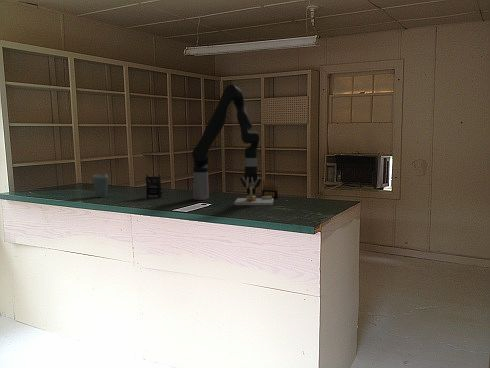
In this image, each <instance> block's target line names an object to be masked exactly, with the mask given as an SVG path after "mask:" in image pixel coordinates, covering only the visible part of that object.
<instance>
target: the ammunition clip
mask: <svg viewBox="0 0 490 368" xmlns="http://www.w3.org/2000/svg"><path fill="white" fill-rule="evenodd" d="M278 188H279V187H278V180H277V179H273V180H272V179H269V178H268V179H264V178H262V188H261V197H262V196H272V198H274V200H275V199H276V200H277V199H279V190H278Z"/></svg>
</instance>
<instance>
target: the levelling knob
mask: <svg viewBox="0 0 490 368" xmlns="http://www.w3.org/2000/svg"><path fill="white" fill-rule="evenodd" d="M249 188H250V194H249V195H246V197H245V198H246V200H256V198H257V195H253V186H250V187H249Z"/></svg>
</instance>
